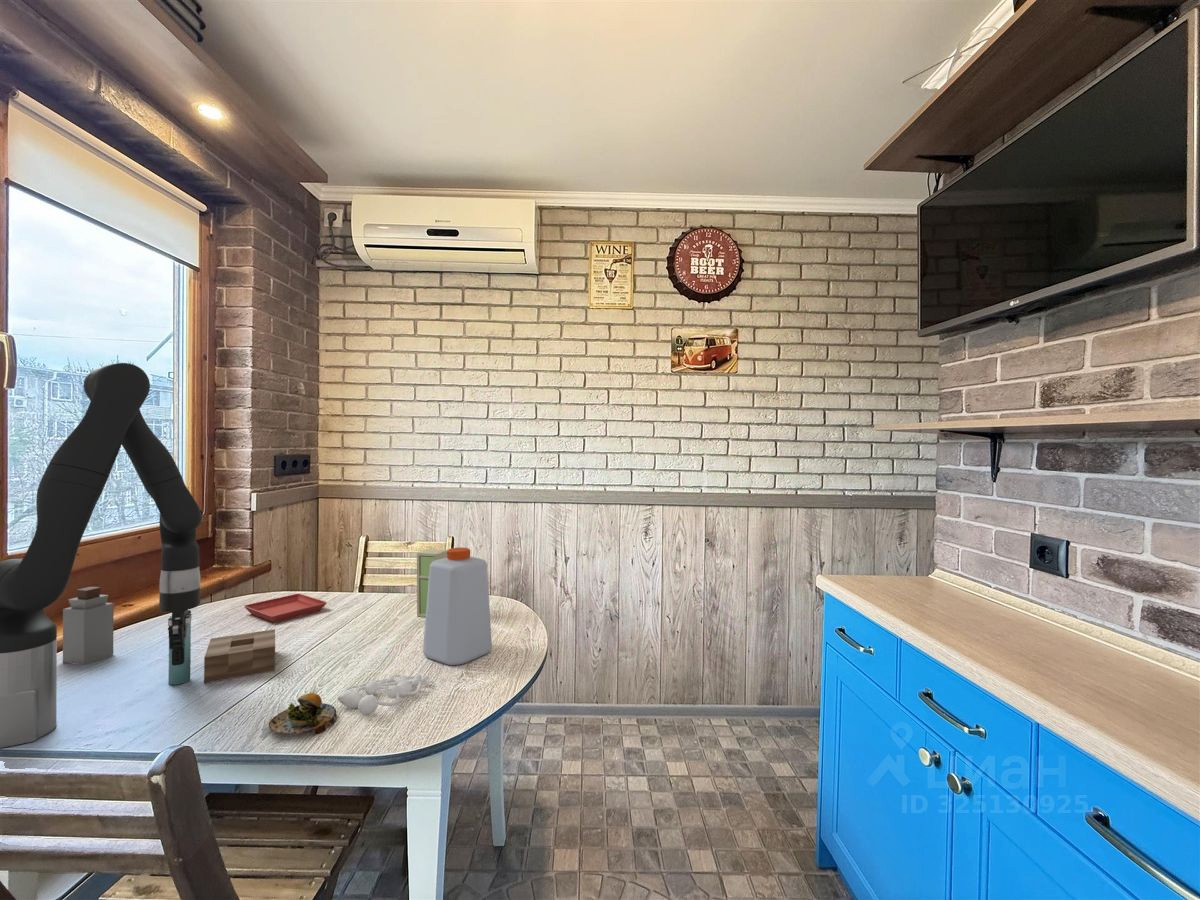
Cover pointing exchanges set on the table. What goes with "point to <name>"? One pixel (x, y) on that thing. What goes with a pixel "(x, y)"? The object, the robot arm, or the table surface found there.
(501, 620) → the table surface
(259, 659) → the bore block
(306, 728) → the burger
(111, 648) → the perfume bottle
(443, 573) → the plastic bottle
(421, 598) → the toy refrigerator
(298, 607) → the plant saucer
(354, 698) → the tangled rod sculpture
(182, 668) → the pin
